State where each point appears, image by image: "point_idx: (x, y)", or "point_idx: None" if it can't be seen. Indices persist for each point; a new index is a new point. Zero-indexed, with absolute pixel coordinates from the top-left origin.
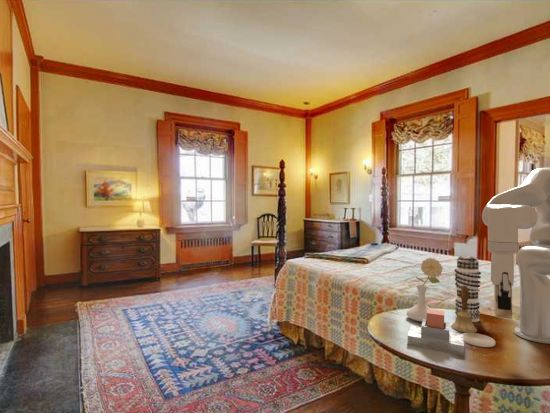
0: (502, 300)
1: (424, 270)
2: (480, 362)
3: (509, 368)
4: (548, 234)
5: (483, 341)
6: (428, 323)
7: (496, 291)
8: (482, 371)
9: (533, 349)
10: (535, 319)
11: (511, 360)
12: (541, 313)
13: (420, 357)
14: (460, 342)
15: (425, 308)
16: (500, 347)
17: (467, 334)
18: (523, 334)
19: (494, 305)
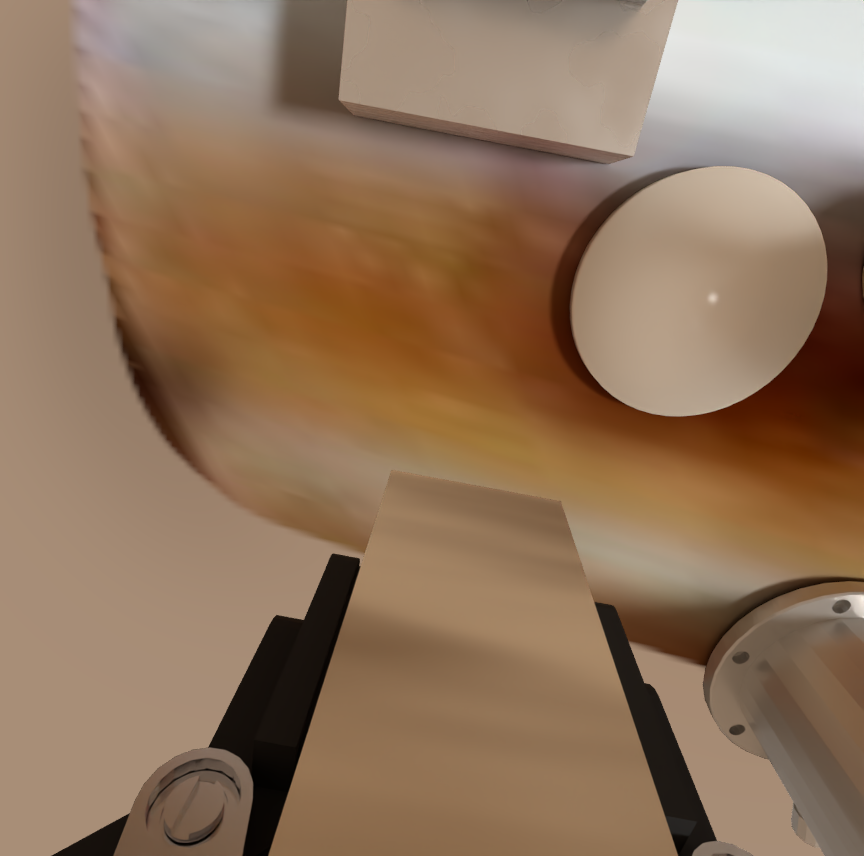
0: (230, 713)
1: None
2: (284, 218)
3: (273, 376)
4: None
5: (639, 331)
6: None
7: (281, 836)
8: (144, 195)
9: (607, 587)
10: (834, 769)
11: (398, 423)
12: (852, 852)
13: None
14: (409, 82)
15: None
16: (593, 422)
17: (778, 238)
18: (801, 616)
19: (579, 558)
